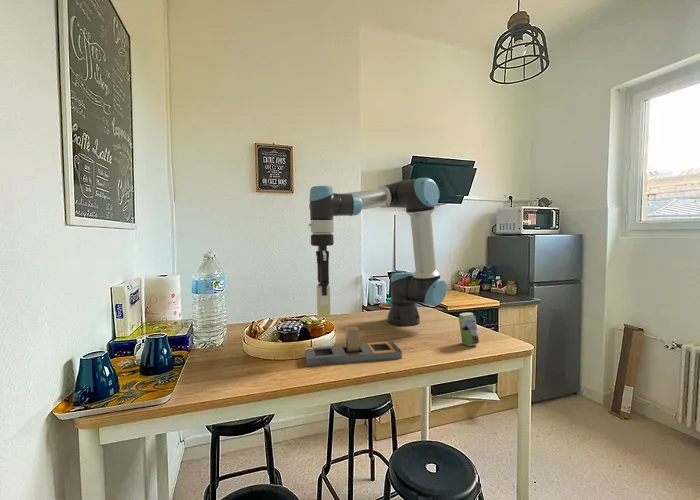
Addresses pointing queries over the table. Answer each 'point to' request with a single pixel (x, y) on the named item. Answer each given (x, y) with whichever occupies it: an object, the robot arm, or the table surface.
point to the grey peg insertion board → (352, 354)
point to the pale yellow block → (323, 309)
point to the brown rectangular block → (352, 340)
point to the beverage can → (468, 329)
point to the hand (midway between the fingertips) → (323, 303)
